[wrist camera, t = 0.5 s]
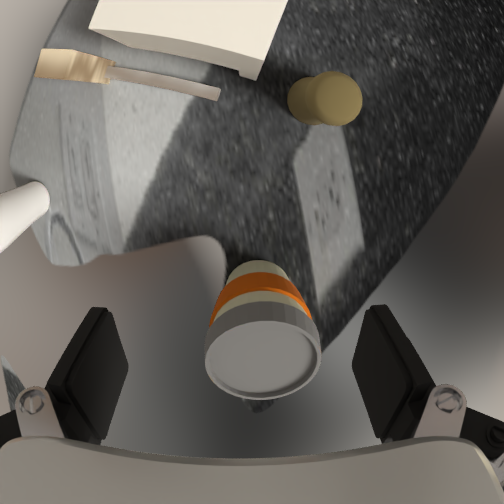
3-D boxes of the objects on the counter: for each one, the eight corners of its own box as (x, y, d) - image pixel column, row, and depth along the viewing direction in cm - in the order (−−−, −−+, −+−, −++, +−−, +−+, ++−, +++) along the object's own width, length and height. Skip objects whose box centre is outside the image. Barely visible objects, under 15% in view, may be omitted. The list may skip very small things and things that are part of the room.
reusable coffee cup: (227, 236, 40) (220, 303, 27) (315, 262, 42) (345, 333, 29) (203, 311, 46) (191, 388, 32) (282, 330, 48) (294, 407, 34)
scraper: (89, 58, 29) (41, 48, 19) (223, 83, 32) (214, 72, 22) (83, 80, 30) (34, 77, 21) (215, 107, 33) (203, 105, 23)
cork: (290, 127, 35) (308, 133, 25) (284, 78, 32) (300, 65, 22) (339, 123, 34) (374, 130, 24) (333, 76, 32) (368, 65, 22)
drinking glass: (54, 224, 39) (-7, 274, 25) (21, 213, 38) (-41, 257, 24) (57, 180, 36) (-12, 218, 22) (23, 171, 35) (-46, 205, 21)
